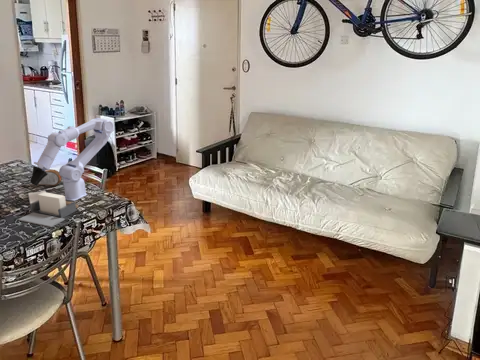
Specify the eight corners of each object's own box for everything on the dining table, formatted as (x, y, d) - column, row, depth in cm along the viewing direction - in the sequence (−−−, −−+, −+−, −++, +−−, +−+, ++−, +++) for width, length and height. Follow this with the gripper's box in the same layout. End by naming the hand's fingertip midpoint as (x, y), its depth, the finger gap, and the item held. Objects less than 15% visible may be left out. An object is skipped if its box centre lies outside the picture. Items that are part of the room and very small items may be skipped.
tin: (63, 184, 235) (60, 169, 232) (60, 186, 232) (57, 171, 229) (35, 183, 236) (33, 168, 233) (32, 185, 233) (30, 170, 230)
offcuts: (56, 202, 210) (55, 198, 210) (78, 207, 206) (78, 203, 205) (51, 205, 208) (51, 201, 207) (73, 209, 203) (73, 205, 202)
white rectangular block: (46, 208, 204) (43, 192, 202) (67, 212, 200) (64, 195, 197) (40, 211, 201) (37, 194, 199) (61, 215, 197) (59, 198, 194)
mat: (33, 213, 199) (32, 212, 199) (64, 219, 192) (64, 218, 192) (18, 220, 192) (18, 219, 192) (50, 227, 185) (50, 226, 185)
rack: (46, 205, 208) (45, 197, 207) (76, 210, 202) (75, 202, 200) (30, 212, 200) (29, 204, 198) (61, 218, 194) (60, 210, 192)
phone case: (50, 204, 210) (46, 192, 224) (50, 201, 210) (46, 189, 223) (30, 207, 207) (27, 195, 220) (29, 204, 206) (27, 192, 219)
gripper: (40, 155, 208) (26, 181, 205) (37, 150, 194) (22, 178, 191) (55, 162, 210) (41, 188, 207) (53, 157, 196) (38, 185, 193)
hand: (33, 184), depth 199 cm, fingers open, 7 cm apart
